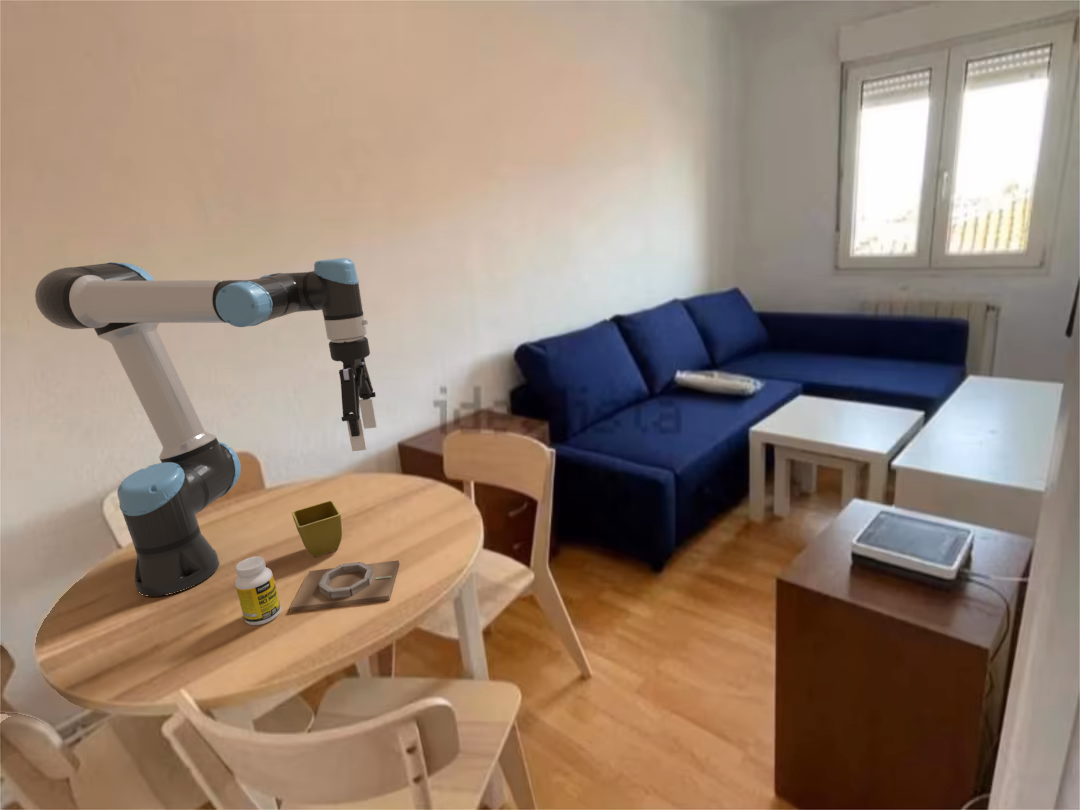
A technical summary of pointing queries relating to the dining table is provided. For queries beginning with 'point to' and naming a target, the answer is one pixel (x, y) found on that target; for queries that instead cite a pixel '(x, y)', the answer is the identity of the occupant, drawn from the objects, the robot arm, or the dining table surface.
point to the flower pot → (319, 527)
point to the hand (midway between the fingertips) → (365, 438)
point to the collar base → (346, 585)
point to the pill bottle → (256, 591)
